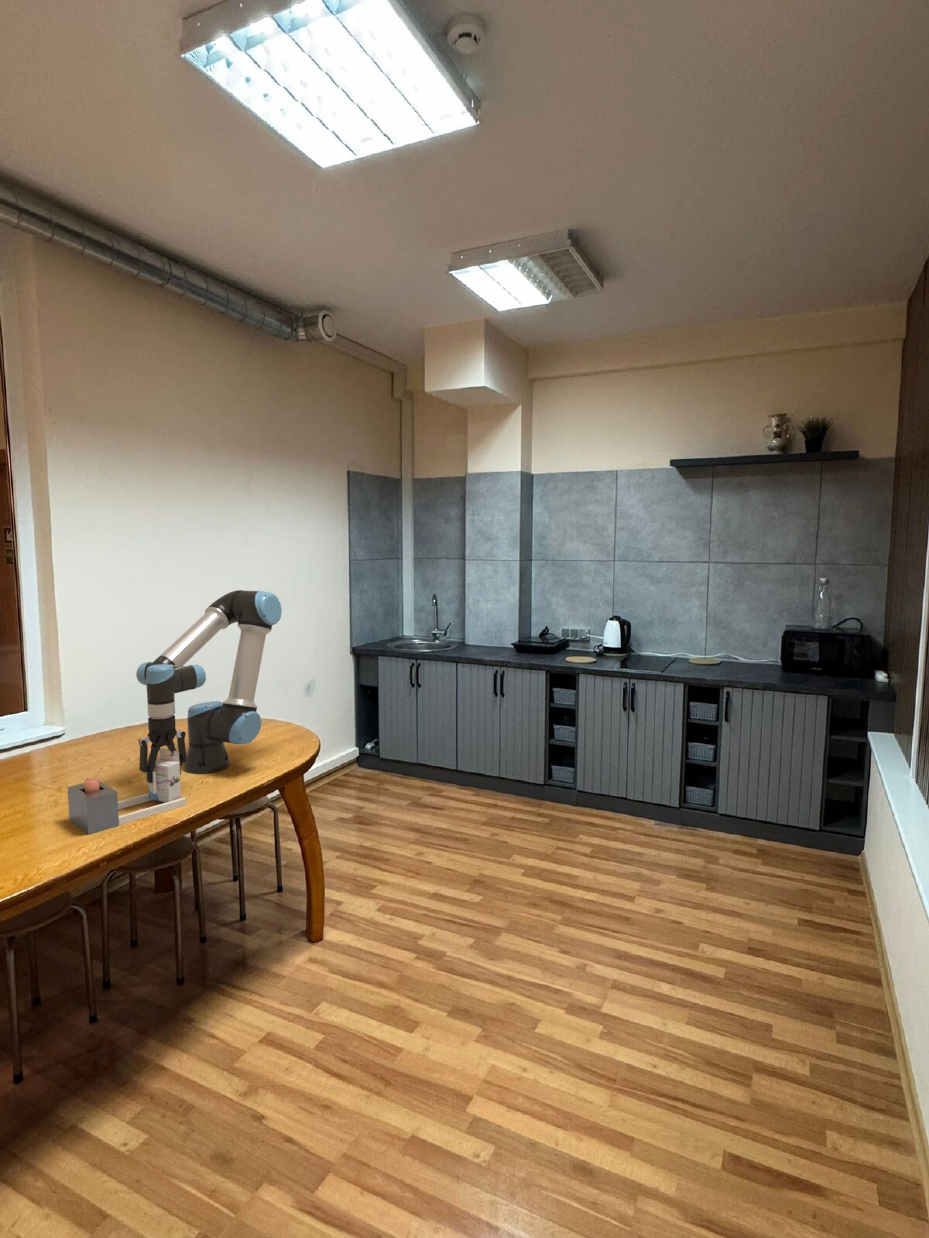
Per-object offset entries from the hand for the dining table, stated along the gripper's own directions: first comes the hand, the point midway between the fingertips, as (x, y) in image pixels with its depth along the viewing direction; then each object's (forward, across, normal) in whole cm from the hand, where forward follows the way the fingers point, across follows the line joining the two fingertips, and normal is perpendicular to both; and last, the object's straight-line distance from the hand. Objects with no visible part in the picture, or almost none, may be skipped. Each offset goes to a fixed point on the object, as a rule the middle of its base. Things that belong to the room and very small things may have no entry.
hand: (164, 789), depth 205 cm
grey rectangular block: (+4, +20, 0) cm, 21 cm away
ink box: (+3, 0, 0) cm, 3 cm away
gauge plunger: (-3, +20, 0) cm, 21 cm away
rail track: (+4, +6, 0) cm, 8 cm away
